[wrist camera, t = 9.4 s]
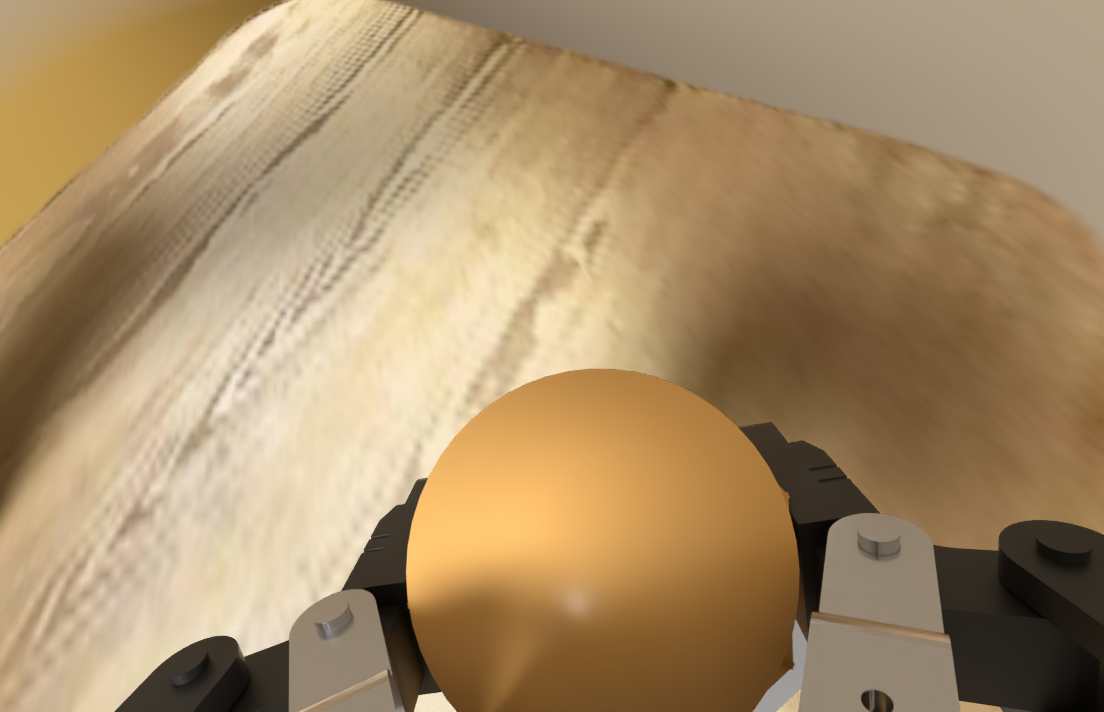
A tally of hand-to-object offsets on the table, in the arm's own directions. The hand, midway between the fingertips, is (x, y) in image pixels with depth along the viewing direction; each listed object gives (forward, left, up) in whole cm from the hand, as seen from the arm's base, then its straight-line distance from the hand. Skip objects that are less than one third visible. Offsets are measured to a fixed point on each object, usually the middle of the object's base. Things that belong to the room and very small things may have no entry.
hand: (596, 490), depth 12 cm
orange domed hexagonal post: (-1, -1, -4) cm, 5 cm away
